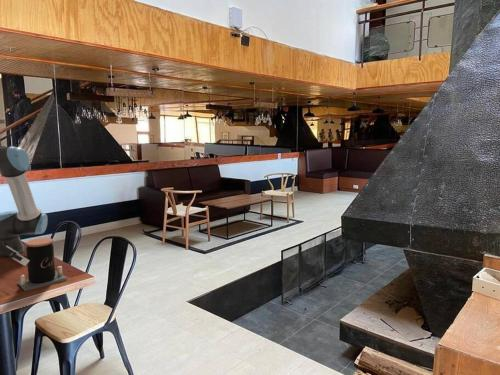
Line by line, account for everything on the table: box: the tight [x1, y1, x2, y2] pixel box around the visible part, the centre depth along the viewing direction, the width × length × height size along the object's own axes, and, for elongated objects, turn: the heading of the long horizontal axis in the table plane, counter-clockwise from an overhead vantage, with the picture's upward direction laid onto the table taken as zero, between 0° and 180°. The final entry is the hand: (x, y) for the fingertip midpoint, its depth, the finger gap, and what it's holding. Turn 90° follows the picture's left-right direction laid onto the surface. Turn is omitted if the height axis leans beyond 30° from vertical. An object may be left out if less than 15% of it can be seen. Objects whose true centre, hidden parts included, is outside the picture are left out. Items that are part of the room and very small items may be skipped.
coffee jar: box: [25, 237, 56, 284], centre depth 164 cm, size 11×11×18 cm
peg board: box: [17, 265, 68, 292], centre depth 165 cm, size 17×11×5 cm, turn 137°
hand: (22, 259), depth 159 cm, fingers open, 13 cm apart
